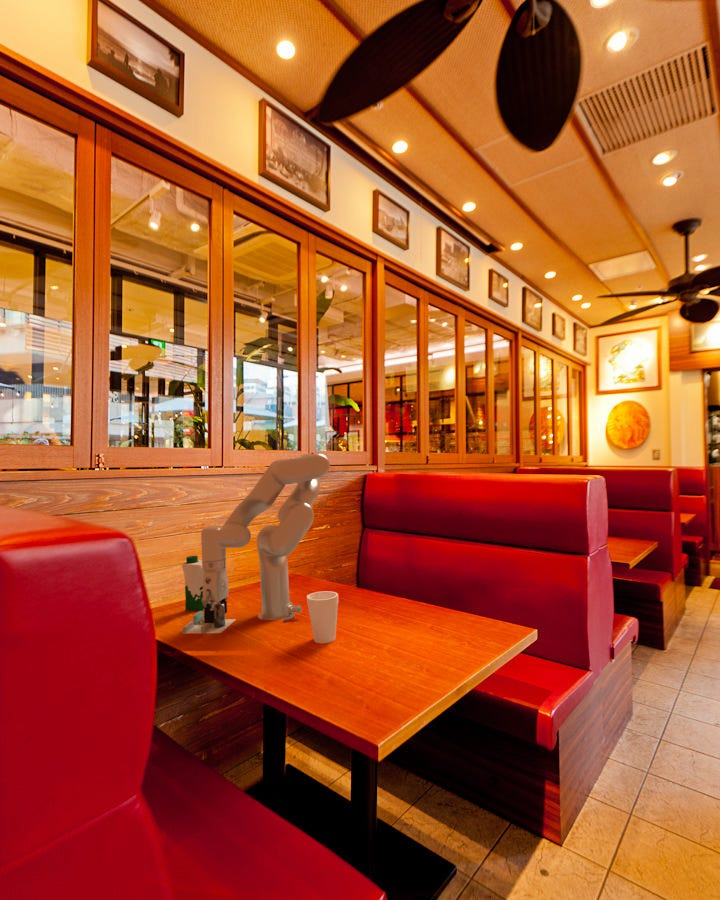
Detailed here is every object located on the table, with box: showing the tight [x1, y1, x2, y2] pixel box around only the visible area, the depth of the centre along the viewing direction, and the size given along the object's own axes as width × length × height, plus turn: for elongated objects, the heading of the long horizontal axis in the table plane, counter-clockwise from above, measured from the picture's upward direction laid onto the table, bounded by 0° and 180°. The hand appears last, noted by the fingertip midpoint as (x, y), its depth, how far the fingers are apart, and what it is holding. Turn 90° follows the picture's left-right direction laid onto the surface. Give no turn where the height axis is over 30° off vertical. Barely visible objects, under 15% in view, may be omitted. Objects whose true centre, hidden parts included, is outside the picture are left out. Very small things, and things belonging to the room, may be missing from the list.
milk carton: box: [181, 555, 211, 612], centre depth 183 cm, size 9×9×20 cm
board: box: [180, 610, 236, 635], centre depth 161 cm, size 13×13×4 cm
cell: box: [213, 602, 226, 628], centre depth 161 cm, size 4×4×8 cm
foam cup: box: [306, 590, 340, 644], centre depth 147 cm, size 10×9×13 cm
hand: (216, 617), depth 160 cm, fingers open, 9 cm apart
